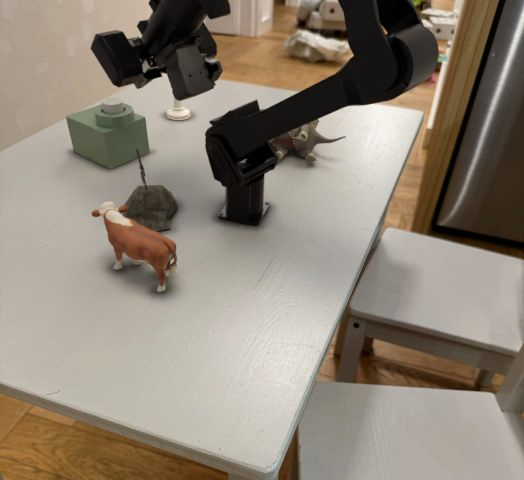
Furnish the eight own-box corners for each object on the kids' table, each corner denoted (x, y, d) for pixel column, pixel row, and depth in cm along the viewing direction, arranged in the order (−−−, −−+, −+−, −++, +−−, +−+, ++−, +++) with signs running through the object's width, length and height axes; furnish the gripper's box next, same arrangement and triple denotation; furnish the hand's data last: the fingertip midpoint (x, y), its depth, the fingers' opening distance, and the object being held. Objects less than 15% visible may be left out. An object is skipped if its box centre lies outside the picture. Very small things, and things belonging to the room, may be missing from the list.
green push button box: (152, 153, 90) (146, 107, 84) (113, 170, 85) (104, 122, 79) (113, 136, 94) (105, 91, 88) (73, 151, 89) (62, 104, 83)
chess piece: (162, 118, 101) (156, 63, 94) (172, 109, 104) (167, 56, 97) (185, 121, 100) (180, 67, 93) (194, 113, 103) (191, 59, 96)
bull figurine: (119, 245, 69) (109, 191, 64) (188, 285, 64) (183, 230, 58) (94, 258, 67) (80, 203, 61) (162, 301, 61) (154, 245, 56)
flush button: (128, 111, 83) (126, 100, 82) (112, 117, 81) (110, 106, 80) (115, 106, 85) (113, 95, 83) (99, 112, 83) (96, 100, 81)
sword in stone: (130, 197, 79) (117, 119, 70) (180, 199, 79) (173, 122, 70) (116, 232, 72) (100, 150, 63) (171, 235, 72) (162, 153, 63)
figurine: (229, 130, 85) (242, 97, 97) (232, 165, 89) (243, 128, 101) (347, 132, 83) (345, 97, 95) (344, 167, 87) (342, 130, 99)
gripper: (161, 84, 60) (118, 151, 72) (261, 56, 70) (208, 118, 83) (107, -5, 58) (73, 80, 70) (218, -20, 68) (171, 55, 81)
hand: (137, 85), depth 76 cm, fingers closed
